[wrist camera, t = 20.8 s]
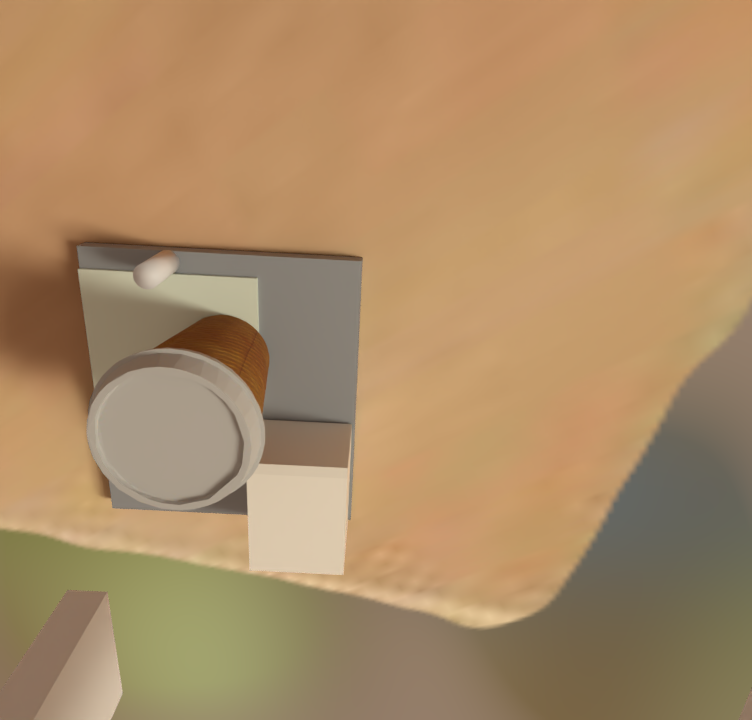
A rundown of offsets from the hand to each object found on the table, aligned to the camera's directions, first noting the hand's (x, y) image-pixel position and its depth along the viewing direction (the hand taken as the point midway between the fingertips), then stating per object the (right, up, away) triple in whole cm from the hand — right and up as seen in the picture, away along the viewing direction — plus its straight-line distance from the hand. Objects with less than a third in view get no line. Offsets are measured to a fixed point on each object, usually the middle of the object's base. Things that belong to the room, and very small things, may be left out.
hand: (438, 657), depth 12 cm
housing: (-7, -3, +34) cm, 35 cm away
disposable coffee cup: (-12, +6, +30) cm, 33 cm away
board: (-12, +4, +33) cm, 35 cm away
